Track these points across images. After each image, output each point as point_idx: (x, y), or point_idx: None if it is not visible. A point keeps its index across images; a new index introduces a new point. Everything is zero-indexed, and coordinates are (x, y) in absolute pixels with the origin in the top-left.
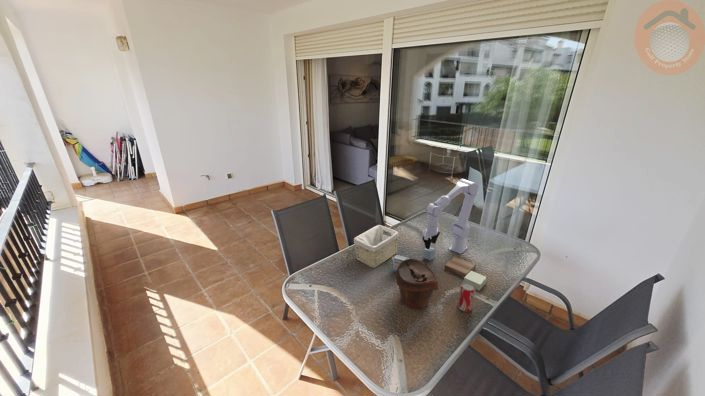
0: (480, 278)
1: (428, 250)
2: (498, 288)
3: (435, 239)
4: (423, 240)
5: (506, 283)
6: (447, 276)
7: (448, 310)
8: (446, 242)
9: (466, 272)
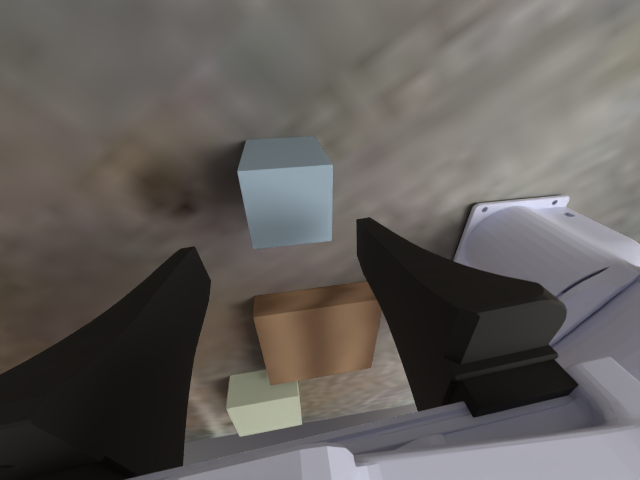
0: (275, 423)
1: (251, 220)
2: (302, 413)
3: (380, 299)
4: (28, 367)
5: (343, 409)
6: (211, 332)
7: None
8: (569, 140)
9: (282, 380)
